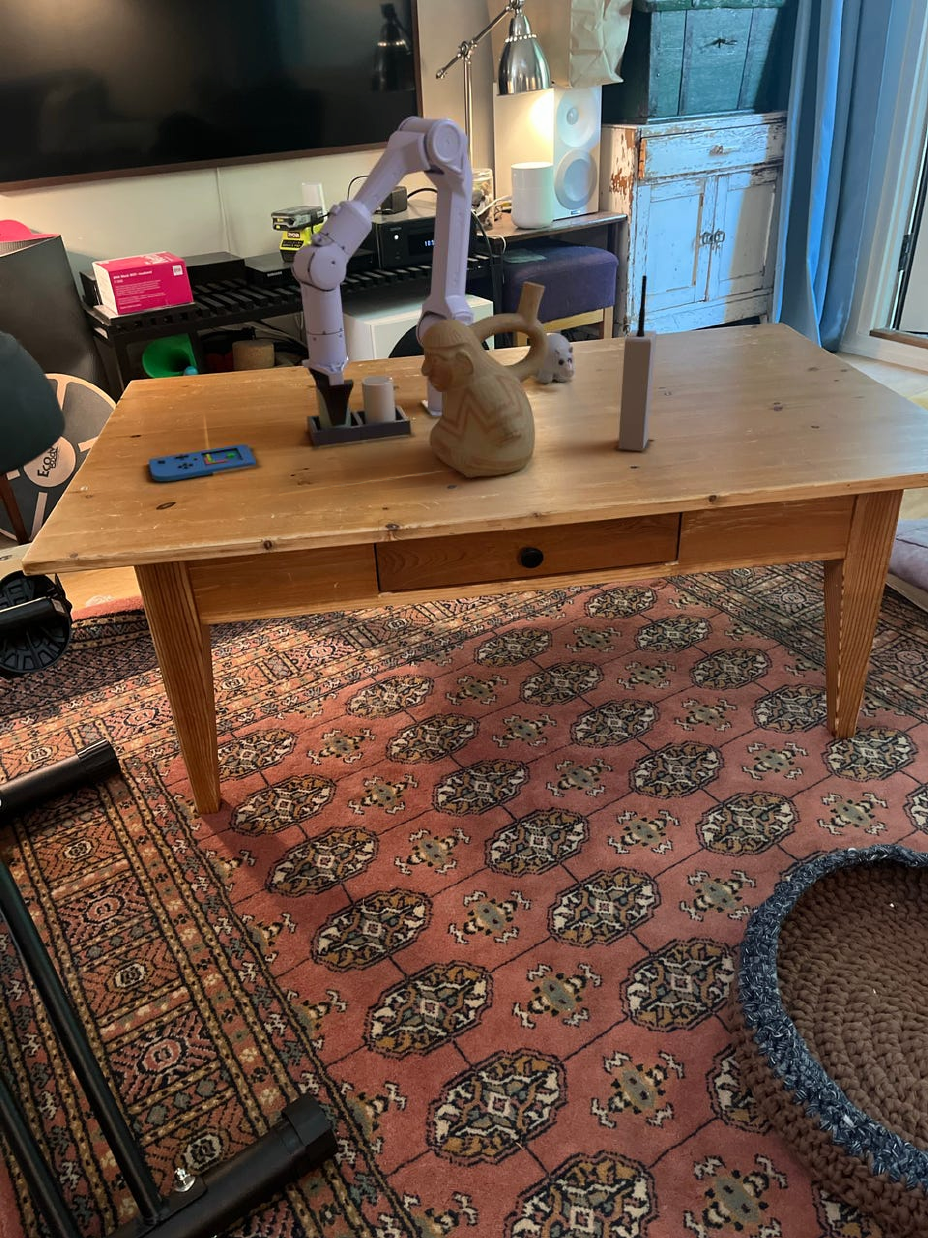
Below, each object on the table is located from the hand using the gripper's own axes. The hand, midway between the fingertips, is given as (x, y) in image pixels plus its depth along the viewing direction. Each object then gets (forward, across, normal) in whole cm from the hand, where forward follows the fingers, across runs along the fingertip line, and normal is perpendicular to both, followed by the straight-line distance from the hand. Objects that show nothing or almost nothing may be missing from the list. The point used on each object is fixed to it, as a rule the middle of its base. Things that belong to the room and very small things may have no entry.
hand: (334, 416), depth 144 cm
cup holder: (+3, 0, +4) cm, 5 cm away
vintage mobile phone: (+4, +20, +43) cm, 47 cm away
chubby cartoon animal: (+4, -13, +43) cm, 45 cm away
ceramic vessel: (+4, +19, +20) cm, 28 cm away
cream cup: (+3, 0, +7) cm, 8 cm away
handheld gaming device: (+3, +5, -21) cm, 22 cm away
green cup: (+3, 0, 0) cm, 3 cm away
